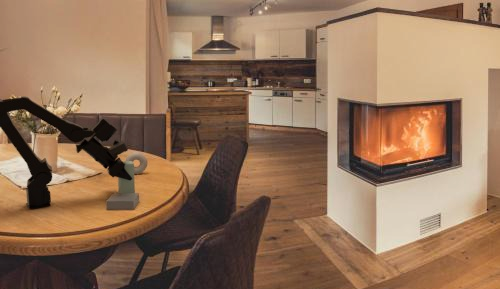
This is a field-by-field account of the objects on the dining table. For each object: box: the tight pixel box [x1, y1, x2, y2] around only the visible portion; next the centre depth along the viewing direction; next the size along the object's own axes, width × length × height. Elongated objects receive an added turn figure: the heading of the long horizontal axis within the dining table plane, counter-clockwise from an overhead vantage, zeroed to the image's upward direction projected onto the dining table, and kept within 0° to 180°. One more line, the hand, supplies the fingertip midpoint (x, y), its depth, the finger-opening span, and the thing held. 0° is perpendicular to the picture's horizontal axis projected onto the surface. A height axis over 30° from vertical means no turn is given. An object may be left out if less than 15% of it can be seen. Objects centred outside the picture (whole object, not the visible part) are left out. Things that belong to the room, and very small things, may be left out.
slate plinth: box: [105, 192, 140, 211], centre depth 142 cm, size 9×9×3 cm
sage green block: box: [117, 160, 136, 193], centre depth 153 cm, size 5×5×12 cm
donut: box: [124, 151, 148, 175], centre depth 184 cm, size 10×4×10 cm, turn 109°
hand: (130, 177), depth 153 cm, fingers closed on sage green block, 5 cm apart
